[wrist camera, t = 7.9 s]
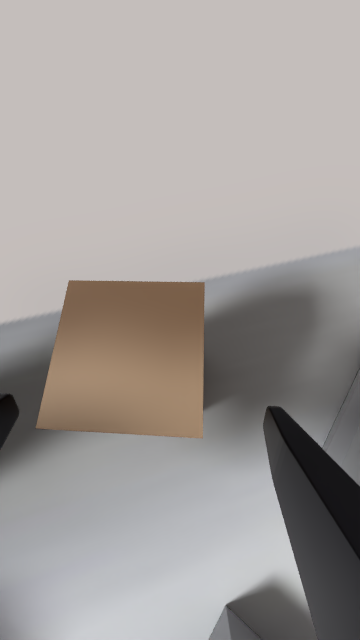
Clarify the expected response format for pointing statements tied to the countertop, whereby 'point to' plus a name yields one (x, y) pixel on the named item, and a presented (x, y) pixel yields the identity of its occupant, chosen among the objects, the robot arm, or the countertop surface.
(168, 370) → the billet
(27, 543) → the countertop surface
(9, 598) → the countertop surface
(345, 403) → the grey square socket
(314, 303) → the countertop surface
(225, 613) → the switch box
